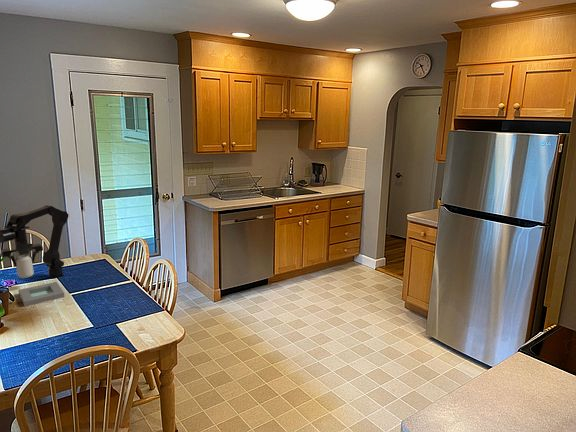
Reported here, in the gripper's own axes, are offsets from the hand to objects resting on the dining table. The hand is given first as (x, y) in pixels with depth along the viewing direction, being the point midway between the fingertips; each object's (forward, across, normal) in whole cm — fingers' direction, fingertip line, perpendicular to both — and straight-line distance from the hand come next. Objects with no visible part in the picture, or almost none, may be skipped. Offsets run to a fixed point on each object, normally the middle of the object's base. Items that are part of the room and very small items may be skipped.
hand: (24, 265), depth 225 cm
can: (+7, 0, 0) cm, 7 cm away
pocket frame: (+13, +4, -17) cm, 22 cm away
